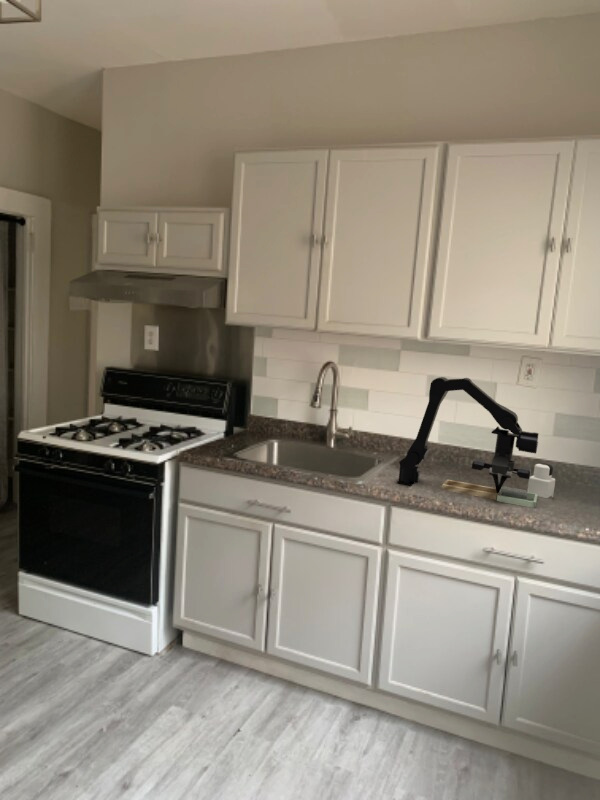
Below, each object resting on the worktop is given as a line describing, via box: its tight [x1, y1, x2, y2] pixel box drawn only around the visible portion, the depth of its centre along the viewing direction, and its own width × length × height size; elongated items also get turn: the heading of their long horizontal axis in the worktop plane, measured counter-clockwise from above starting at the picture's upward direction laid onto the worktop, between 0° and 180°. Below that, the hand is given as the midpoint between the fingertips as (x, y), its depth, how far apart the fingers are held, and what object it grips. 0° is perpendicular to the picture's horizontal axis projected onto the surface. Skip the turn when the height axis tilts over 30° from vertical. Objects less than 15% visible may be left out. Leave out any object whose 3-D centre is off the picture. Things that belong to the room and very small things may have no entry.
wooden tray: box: [441, 479, 500, 501], centre depth 218 cm, size 18×9×3 cm, turn 66°
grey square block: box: [513, 488, 528, 500], centre depth 211 cm, size 4×4×4 cm
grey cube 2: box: [500, 485, 515, 498], centre depth 213 cm, size 4×4×4 cm
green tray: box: [496, 487, 539, 509], centre depth 212 cm, size 12×12×3 cm
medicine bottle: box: [526, 462, 556, 499], centre depth 221 cm, size 7×7×12 cm
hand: (497, 493), depth 214 cm, fingers closed
